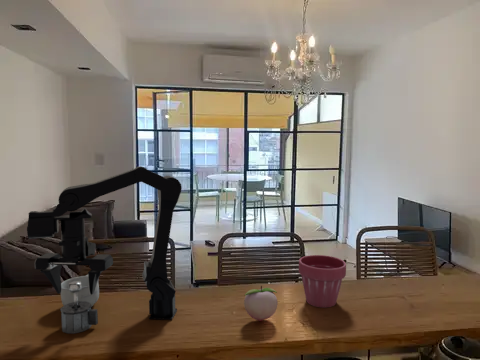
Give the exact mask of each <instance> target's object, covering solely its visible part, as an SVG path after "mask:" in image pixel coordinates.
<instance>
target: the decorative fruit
mask: <svg viewBox="0 0 480 360" xmlns="http://www.w3.org/2000/svg"><path fill="white" fill-rule="evenodd" d="M276 293H277V291H276V290H275V289H274V288H271V287H264V288H263V285H260V289H255V288H253V289H249V290H248V291H247V292H246V293H245V294H244V300H243V306H244V310H245V311H246V314H248V316H249V317H251V318H252V319H253V320H256V321H259V322H262V321H264V320H267V319H269V318H271V317H272V316H273V315H274V314H275V313H276V311H277V309H278V306H279V305H278V303H279V302H278V297H277V296H276Z"/></svg>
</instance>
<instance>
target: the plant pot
mask: <svg viewBox="0 0 480 360" xmlns="http://www.w3.org/2000/svg"><path fill="white" fill-rule="evenodd" d="M298 273H299V274H300V275H301V280H302V285H303V291H304V295H305V301H306V302H307V303H308V304H309V305H311V306H313V307H316V308H331V307H334V306H335V305H336V304H337V301H338V297H339V293H340V289H341V286H342V282H343V279H344V278H346V276H347V263H346V262H345V261H344V260H343V259H341V258H338V257H335V256H333V255H331V256H330V255H321V254H314V255H313V254H312V255H305V256H302V257H300V258H299V259H298Z"/></svg>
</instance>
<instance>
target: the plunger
mask: <svg viewBox="0 0 480 360" xmlns="http://www.w3.org/2000/svg"><path fill="white" fill-rule="evenodd" d="M81 290H82V289H81V282H80V281H74V282H71V283H69V292H71V293H74V308H72V309H77V308H80V307H78V296H77V292H79V291H81Z"/></svg>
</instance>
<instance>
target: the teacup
mask: <svg viewBox="0 0 480 360" xmlns="http://www.w3.org/2000/svg"><path fill="white" fill-rule="evenodd" d="M74 281H80V282H81V289H82V290H81V291H79V292H77V296H78V301H81V302H89V303H90V304H91V305H92V307H93V306H94V305H95V304H96V303H97V301H98V300H99V297H100V287H99V281H98V282H97V285H96V288H95V291H94V293H93V294H92V295H91V294H90V288H89V277H88V274H86V275H81V276H77V277H76V276H75V277H72V278H69V279H66V280H64V281H61V293H60V299H61V303H62V305H63V306H64V305H67V304H69V303H73V302H74V293H71V292H69V283H71V282H74Z"/></svg>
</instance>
